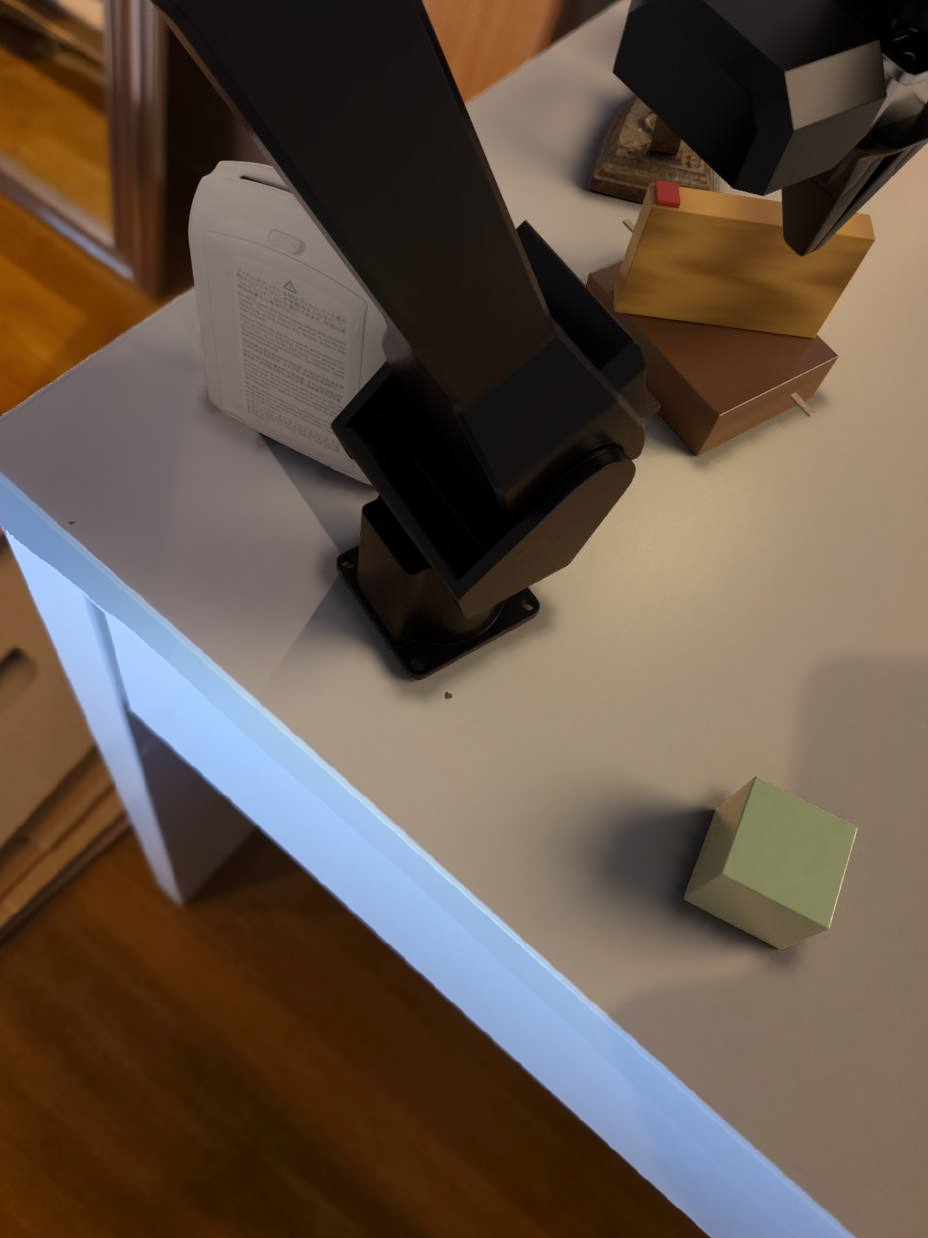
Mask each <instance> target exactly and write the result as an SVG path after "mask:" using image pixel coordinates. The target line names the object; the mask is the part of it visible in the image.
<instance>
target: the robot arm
mask: <svg viewBox="0 0 928 1238" xmlns="http://www.w3.org/2000/svg"><path fill="white" fill-rule="evenodd" d="M149 2H150V3H151V4H152V6H153V7H154V8H155V10H156V11H157V13H158V14H159V15H160V17H161V18H162V20H163V21H164V22H165V24H167V26H168V27H169V29H170V30H171V31H172V32H173V34H174V35H175V37H176V38H177V40H178V41H179V43H180V44H181V45H182V46H183V48H184V50H186V52H187V53H188V55H189V56H190V58H191V59H192V60H193V61H194V62H195V64H196V65H197V67H198V68H199V70H200V71H201V73H203V74H204V76H205V77H206V79H207V80H208V82H209V83H210V84H211V86H212V87H213V89H215V91H216V92H217V93H218V95H219V96H220V98H221V99H222V101H223V102H224V103H225V105H226V107H228V109H229V110H230V112H232V115H234V117H235V118H236V120H237V121H238V122H239V123H240V125H241V126H242V128H243V129H244V130H245V132H246V133H247V134H248V136H249V137H250V138H251V140H252V141H253V142H254V144H255V145H256V146H257V147H258V149H259V151H260V152H261V153H262V154H263V156H264V157H265V158H266V160H267V161H268V163H269V165H270V166H272V167H273V168H274V169H275V171H276V172H277V173H278V175H279V176H280V177H281V179H282V180H283V181H284V183H285V184H286V185H287V187H288V188H289V190H290V191H291V192H292V194H293V195H294V196H295V198H296V199H297V200H298V202H299V203H300V204H301V206H302V207H303V208H304V210H305V211H306V213H307V214H308V215H309V217H310V218H311V219H312V221H313V222H314V223H315V225H316V226H317V227H318V229H319V230H320V231H321V233H322V234H323V236H324V237H325V238H326V240H327V241H328V242H329V244H330V245H331V246H332V248H333V249H334V250H335V252H336V253H337V254H338V256H339V257H340V259H341V260H342V261H343V263H344V264H345V265H346V267H347V268H348V269H349V271H350V272H351V273H352V275H353V276H354V277H355V279H356V280H357V281H358V283H359V284H360V286H361V287H362V288H363V290H364V291H365V292H366V294H367V295H368V296H369V298H370V299H371V300H372V302H373V303H374V304H375V306H376V307H377V309H378V310H379V311H380V313H381V314H382V315H383V317H384V319H385V322H386V324H387V328H386V330H385V333H384V335H383V340H382V348H383V351H384V353H385V356H386V359H387V360H386V362H385V363H384V364H383V365H382V366H381V367H380V368H379V369H378V371H377V372H376V373H375V374H374V375H373V376H372V377H371V378H370V380H369V381H368V382H367V383H366V384H365V385H364V386H363V387H362V389H361V390H360V391H359V392H358V393H357V394H356V395H355V396H354V398H353V399H352V400H351V401H350V402H349V403H348V404H347V405H346V407H345V408H344V409H343V410H342V411H341V412H340V413H339V414H338V416H337V417H336V418H335V419H334V420H333V421H332V424H331V429H332V431H333V432H334V434H335V436H336V437H337V439H338V441H339V442H340V444H341V446H342V447H343V449H344V450H345V452H346V453H347V455H348V456H349V457H350V459H354V461H355V462H356V463H357V465H358V466H359V468H360V469H361V470H362V472H363V473H364V474H365V476H366V477H367V479H368V480H369V481H370V483H371V484H372V487H373V488H374V490H375V491H376V492H377V494H378V496H377V497H376V498H375V499H374V500H372V501H370V502H367V503H365V504H364V505H363V506H362V508H361V515H360V516H361V517H360V527H359V529H360V530H359V543H358V545H356V546H353V547H351V548H350V549H348V550H346V551H344V552H341V553H340V554H339V555H338V556H337V558H336V563H335V569H336V572H337V573H338V575H339V576H340V578H341V579H342V580H343V582H344V584H345V585H346V586H347V588H348V589H349V591H350V593H351V594H352V595H353V597H354V598H355V600H356V601H357V603H358V604H359V605H360V607H361V609H362V610H363V611H364V613H365V614H366V616H367V618H368V619H369V621H370V622H371V623H372V624H373V626H374V628H375V629H376V631H377V632H378V634H379V635H380V636H381V638H382V639H383V641H384V642H385V644H386V646H387V647H388V649H389V650H390V651H391V653H392V655H394V658H396V660H397V661H398V663H399V665H400V666H401V667H402V669H403V671H404V672H405V673H406V675H407V676H408V677H409V678H410V679H412V680H416V681H422V680H424V679H426V678H427V677H430V676H432V675H434V674H435V673H437V672H439V671H441V670H442V669H444V668H446V667H449V666H450V665H452V664H454V663H455V662H457V661H459V660H461V659H463V658H464V657H466V656H468V655H470V654H471V653H474V652H475V651H477V650H479V649H481V648H483V647H484V646H486V645H488V644H490V643H492V642H494V641H496V640H497V639H499V638H501V637H503V636H505V635H506V634H508V633H510V632H512V631H514V630H515V629H517V628H519V627H521V626H522V625H524V624H526V623H529V621H532V620H533V619H535V618H536V617H537V615H538V614H539V612H540V609H541V604H540V601H539V599H538V598H537V596H536V595H535V594H534V593H533V591H532V590H531V589H530V587H531V586H533V585H535V584H537V583H538V582H540V581H542V580H544V579H546V578H548V577H549V576H552V575H553V574H555V573H557V572H559V571H561V570H563V569H564V568H566V567H568V566H569V565H570V564H572V562H573V560H574V559H575V558H576V557H577V555H578V554H579V553H580V551H581V550H582V549H583V547H584V546H585V545H586V544H587V542H588V541H589V539H590V538H591V537H592V536H593V534H594V533H595V532H596V531H597V529H598V528H599V526H600V525H601V524H602V522H603V521H604V520H605V519H606V518H607V516H608V515H609V514H610V512H611V511H612V509H613V508H614V507H615V506H616V504H617V503H618V502H619V501H620V499H621V498H622V496H623V495H624V494H625V493H626V492H627V490H628V489H629V487H630V485H631V484H632V483H633V480H634V478H635V476H636V472H637V467H636V464H635V463H634V460H637V459H638V458H639V457H640V456H641V455H642V452H643V449H644V447H645V445H646V444H645V443H646V437H647V436H646V434H647V423H646V422H645V421H644V419H645V418H647V417H649V416H652V415H653V414H656V413H658V410H659V409H660V407H661V405H660V403H659V402H658V401H657V400H656V399H655V398H654V397H653V396H652V394H651V393H650V392H649V391H648V390H647V389H646V370H647V368H646V363H645V360H644V357H643V354H642V351H641V348H640V345H639V344H638V343H637V342H636V340H635V339H634V338H633V337H632V336H631V335H630V334H629V333H628V332H627V331H626V329H625V328H624V327H623V326H622V325H621V324H620V323H619V322H618V321H617V320H616V318H615V317H614V316H613V315H612V314H611V313H610V312H609V311H608V310H607V308H606V307H605V306H604V305H603V304H602V303H601V302H600V301H599V300H598V299H597V297H596V296H595V295H594V294H593V293H592V292H591V291H590V290H589V289H588V288H587V286H586V283H584V282H583V281H582V279H580V277H579V276H578V275H577V274H576V273H575V272H574V271H573V270H572V268H570V267H569V265H568V264H567V263H566V261H564V260H563V259H562V257H560V256H559V254H558V253H557V252H556V250H554V249H553V248H552V247H551V245H550V244H548V242H547V241H546V240H545V239H544V238H543V237H542V236H541V235H540V233H538V231H537V230H536V229H535V227H533V225H531V223H529V221H528V220H527V219H524V220H523V221H522V222H521V223H520V224H519V225H518V226H517V227H516V226H515V224H514V221H513V219H512V216H511V213H510V211H509V209H508V207H507V205H506V202H505V199H504V197H503V195H502V192H501V189H500V186H499V185H498V182H497V180H496V177H495V175H494V173H493V170H492V168H491V165H490V162H489V159H488V157H487V154H486V153H485V150H484V147H483V145H482V143H481V140H480V138H479V136H478V135H479V134H478V133H477V131H476V128H475V125H474V123H473V121H472V119H471V116H470V113H469V111H468V109H467V106H466V104H465V101H464V99H463V96H462V94H461V92H460V88H459V87H458V84H457V82H456V80H455V76H454V75H453V72H452V69H451V68H450V65H449V62H448V60H447V57H446V55H445V53H444V51H443V47H442V45H441V43H440V40H439V37H438V36H437V33H436V31H435V27H434V26H433V23H432V20H431V19H430V18H431V17H430V16H429V14H428V11H427V8H426V6H425V3H424V1H423V0H149ZM624 20H625V21H624V24H623V28H622V32H621V37H620V39H619V41H618V46H617V50H616V54H615V58H614V63H613V68H612V74H613V75H614V76H615V77H616V78H617V79H618V80H619V81H620V82H621V83H622V84H623V85H624V86H626V88H627V89H628V90H629V91H630V92H632V93H633V94H634V95H636V96H637V97H638V98H639V99H640V100H641V101H642V102H643V103H644V104H645V105H646V106H647V107H648V108H649V109H651V110H652V111H653V112H654V113H655V114H656V115H657V116H658V117H659V118H660V119H661V120H662V121H663V122H664V123H665V124H666V125H667V126H668V127H669V128H670V129H671V130H672V131H673V132H674V133H675V134H676V135H678V136H679V137H680V138H681V139H682V140H683V141H684V142H685V143H686V144H687V145H688V146H689V147H690V148H691V149H692V150H693V151H694V152H695V153H696V154H697V155H698V156H699V157H700V158H701V159H702V160H703V161H705V162H706V163H707V164H708V165H709V166H710V167H711V168H712V169H713V172H714V173H716V175H718V177H720V178H721V179H722V180H723V181H724V182H725V183H726V184H727V185H728V186H729V187H730V188H731V189H732V190H736V191H740V192H743V193H744V192H745V193H748V194H752V195H756V196H761V197H765V196H768V195H770V194H773V193H774V192H775V193H776V192H777V191H780V190H781V191H780V192H781V202H782V220H783V238H784V241H785V242H786V244H787V245H788V246H789V247H790V248H791V249H793V250H794V251H795V252H796V253H797V254H798V255H799V256H805V255H808V254H810V253H812V252H814V251H817V250H819V249H820V248H821V247H822V246H823V245H824V244H825V243H826V242H827V241H828V240H829V239H830V238H831V237H832V236H833V235H834V234H835V233H836V232H837V231H838V230H839V229H840V228H841V227H842V226H843V225H844V224H845V223H846V222H847V221H848V220H849V219H850V218H851V217H852V216H853V215H854V214H855V213H858V212H859V211H860V210H861V209H862V208H863V207H864V206H865V205H866V204H867V203H868V202H869V201H870V200H871V199H872V198H873V197H874V196H875V195H876V194H877V193H878V192H879V191H880V190H881V189H882V188H883V187H884V186H885V185H886V184H887V183H888V182H889V181H890V180H891V179H892V178H893V177H894V176H895V175H896V174H897V173H898V172H899V171H900V170H901V169H902V168H903V167H904V166H905V165H906V164H907V163H908V162H909V161H910V160H911V159H913V158H914V156H915V155H917V154H918V153H919V152H920V151H921V150H922V149H923V148H924V147H925V146H927V144H928V0H630V3H629V5H628V10H627V14H626V17H625V19H624ZM344 563H351V564H352V565H351V566H345V565H344ZM524 605H525V606H526V605H528V606H530V607H531V609H530V610H529V609H526V608H525V607H524ZM415 664H421V666H423V668H422V669H416V668H415V667H414V665H415Z"/></svg>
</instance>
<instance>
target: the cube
mask: <svg viewBox="0 0 928 1238" xmlns="http://www.w3.org/2000/svg"><path fill="white" fill-rule="evenodd" d="M858 831H859V827H858V826H856V825H854V824H852V823H850V822H848V821H846V820H844V819H842V818H840V817H839V816H837V815H835V814H833V813H830V812H829V811H826V810H824V809H822V808H821V807H818V806H817V805H815V804H812V803H810V802H808V801H807V800H804V799H802V798H800V797H799V796H797V795H794V794H793V793H790V792H788V791H786V790H785V789H783V788H780V787H778V786H776V785H774V784H773V783H770V782H768V781H766V780H765V779H762V778H761V777H759V776H754V777H753V778H751V779H750V780H749V781H747V783H746V784H744V785H743V786H742V787H741V788H739V789H738V790H737V791H736V792H735V793H733V794H732V795H731V796H730V797H729V798H728V799H726V800H725V801H724V802H723V803H721V804H720V805H719V806H718V807H717V808H716V809H715V810H714V812H713V816H712V819H711V822H710V824H709V827H708V830H707V833H706V836H705V838H704V841H703V843H702V846H701V848H700V851H699V854H698V857H697V860H696V862H695V866H694V868H693V871H692V873H691V877H690V879H689V881H688V884H687V887H686V890H685V892H684V894H683V895H684V896H683V900H684V901H685V902H688V903H690V904H691V905H692V906H693V905H694V906H695V907H696V908H699V909H701V910H703V911H705V912H707V913H708V914H710V915H713V916H714V917H716V918H718V919H720V920H722V921H724V922H725V923H728V924H729V925H731V926H734V927H735V928H737V929H739V930H740V931H741V930H742V931H744V933H746V934H749V935H750V936H753V937H755V938H757V939H758V940H760V941H763V942H764V943H766V944H768V945H770V946H772V947H774V948H776V949H778V950H784V949H786V948H788V947H791V946H793V945H795V944H799V943H800V942H803V941H804V940H807V939H809V938H812V937H814V936H816V935H820V934H821V933H824V932H826V931H829V930H830V928H831V926H832V922H833V918H834V915H835V911H836V908H837V904H838V901H839V897H840V894H841V890H842V886H843V882H844V879H845V875H846V873H847V868H848V865H849V862H850V859H851V854H852V851H853V847H854V844H855V840H856V837H857V833H858Z"/></svg>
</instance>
